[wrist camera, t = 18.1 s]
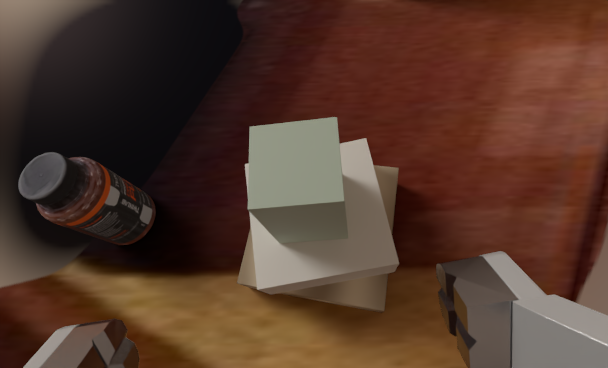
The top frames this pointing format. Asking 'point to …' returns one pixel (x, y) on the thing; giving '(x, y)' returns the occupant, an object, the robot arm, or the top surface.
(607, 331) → the robot arm
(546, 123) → the top surface
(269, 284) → the white top slab
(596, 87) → the top surface
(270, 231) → the sage block
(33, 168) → the supplement bottle
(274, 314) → the top surface
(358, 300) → the maple base slab
